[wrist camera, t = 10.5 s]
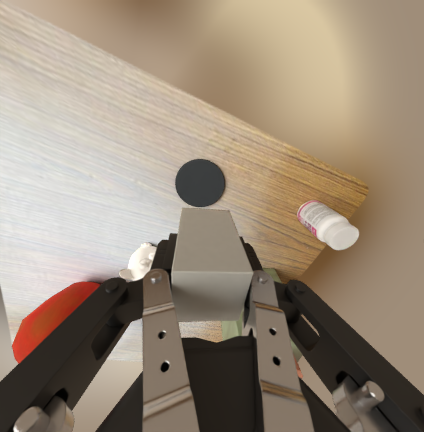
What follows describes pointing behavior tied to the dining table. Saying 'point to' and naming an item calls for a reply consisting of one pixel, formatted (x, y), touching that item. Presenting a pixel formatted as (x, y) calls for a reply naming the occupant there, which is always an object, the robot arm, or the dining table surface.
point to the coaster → (199, 183)
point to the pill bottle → (327, 225)
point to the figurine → (139, 262)
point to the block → (209, 267)
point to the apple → (49, 317)
